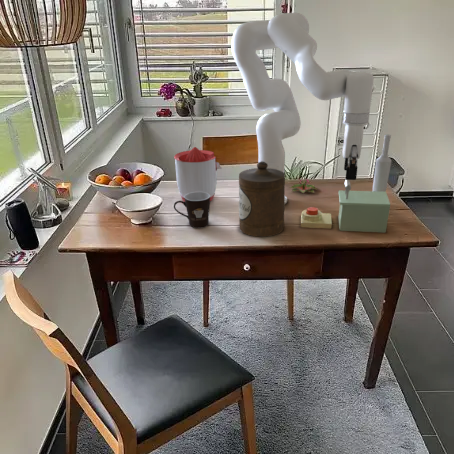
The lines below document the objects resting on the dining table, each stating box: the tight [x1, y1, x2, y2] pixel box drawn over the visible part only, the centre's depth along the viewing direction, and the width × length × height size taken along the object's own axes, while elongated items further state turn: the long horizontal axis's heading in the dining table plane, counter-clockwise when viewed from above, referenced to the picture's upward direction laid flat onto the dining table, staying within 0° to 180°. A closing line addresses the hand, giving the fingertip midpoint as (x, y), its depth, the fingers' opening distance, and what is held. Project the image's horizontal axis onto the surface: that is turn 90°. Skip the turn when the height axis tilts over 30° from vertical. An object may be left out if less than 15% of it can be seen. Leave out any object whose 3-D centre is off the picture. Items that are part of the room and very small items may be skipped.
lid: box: [337, 179, 391, 208], centre depth 152 cm, size 16×12×5 cm
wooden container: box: [238, 161, 286, 238], centre depth 152 cm, size 15×15×22 cm
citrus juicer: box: [173, 146, 223, 202], centre depth 176 cm, size 16×17×20 cm
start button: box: [306, 206, 319, 215], centre depth 159 cm, size 4×4×2 cm
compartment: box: [337, 204, 391, 234], centre depth 156 cm, size 15×12×9 cm
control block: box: [300, 209, 333, 229], centre depth 160 cm, size 10×9×4 cm
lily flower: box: [289, 178, 318, 194], centre depth 187 cm, size 12×12×5 cm
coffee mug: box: [173, 192, 211, 229], centre depth 159 cm, size 12×9×10 cm
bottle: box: [371, 133, 392, 193], centre depth 166 cm, size 5×5×25 cm
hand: (349, 174), depth 150 cm, fingers open, 9 cm apart
